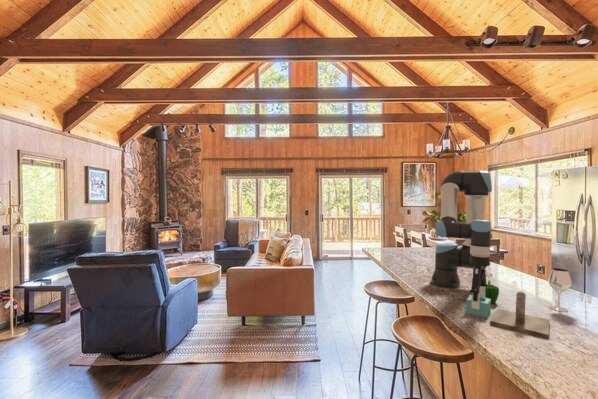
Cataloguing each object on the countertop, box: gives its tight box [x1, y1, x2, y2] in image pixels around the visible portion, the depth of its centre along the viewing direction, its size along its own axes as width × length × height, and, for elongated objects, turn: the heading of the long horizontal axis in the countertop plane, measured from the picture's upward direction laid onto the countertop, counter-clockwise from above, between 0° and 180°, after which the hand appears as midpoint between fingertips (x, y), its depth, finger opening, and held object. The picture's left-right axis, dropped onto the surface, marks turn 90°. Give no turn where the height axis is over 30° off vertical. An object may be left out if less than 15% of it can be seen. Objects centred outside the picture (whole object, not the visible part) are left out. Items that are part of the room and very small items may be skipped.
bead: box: [465, 294, 492, 319], centre depth 135 cm, size 8×8×6 cm
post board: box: [489, 291, 550, 340], centre depth 124 cm, size 18×18×13 cm
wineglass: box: [547, 267, 573, 313], centre depth 142 cm, size 8×8×18 cm
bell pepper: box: [484, 279, 500, 304], centre depth 150 cm, size 8×8×10 cm
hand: (478, 304), depth 135 cm, fingers open, 13 cm apart
